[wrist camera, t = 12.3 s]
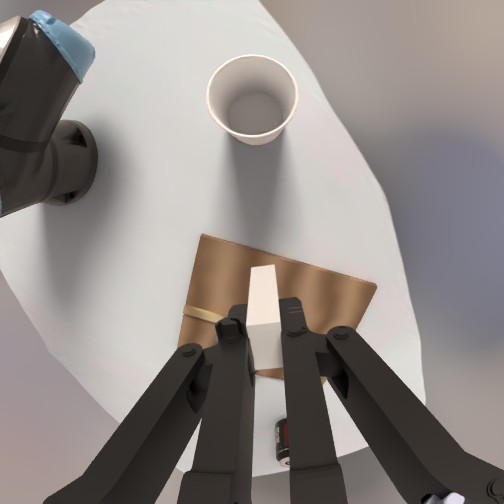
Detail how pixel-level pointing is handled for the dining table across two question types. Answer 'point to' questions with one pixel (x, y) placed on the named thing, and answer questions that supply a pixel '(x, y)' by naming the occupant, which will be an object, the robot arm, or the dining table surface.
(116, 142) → the dining table surface
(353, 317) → the door board
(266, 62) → the cup
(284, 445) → the beverage can
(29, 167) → the robot arm
